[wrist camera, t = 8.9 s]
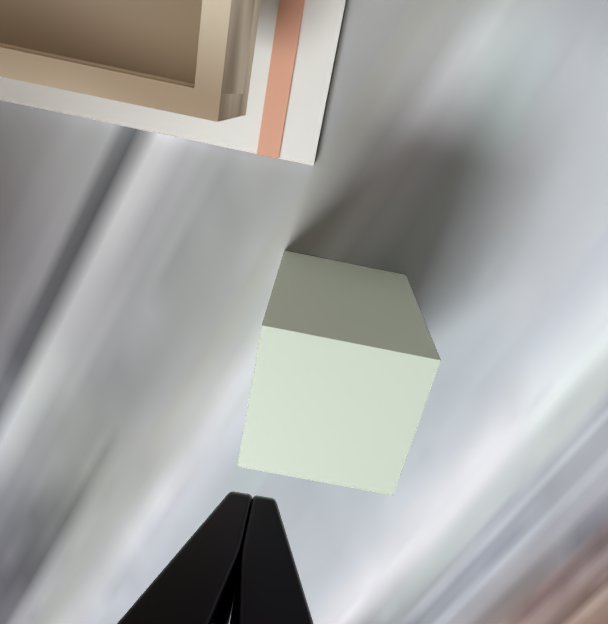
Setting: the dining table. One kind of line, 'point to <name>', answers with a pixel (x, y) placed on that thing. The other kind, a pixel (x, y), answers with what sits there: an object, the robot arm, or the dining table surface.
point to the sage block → (338, 375)
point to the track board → (262, 92)
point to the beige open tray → (136, 51)
